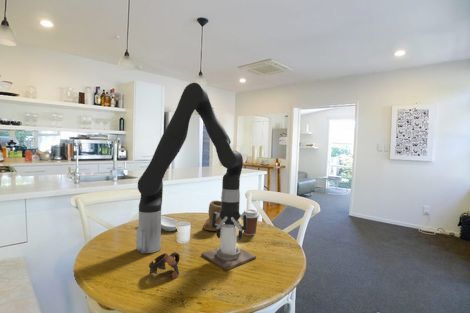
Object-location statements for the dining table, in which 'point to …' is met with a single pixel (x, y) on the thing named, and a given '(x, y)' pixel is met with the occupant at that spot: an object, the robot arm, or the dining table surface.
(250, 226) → the coffee cup
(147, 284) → the dining table surface
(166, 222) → the spoon rest
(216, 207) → the brown boot vase
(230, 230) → the can
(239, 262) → the collar board
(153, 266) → the brown arched figurine
